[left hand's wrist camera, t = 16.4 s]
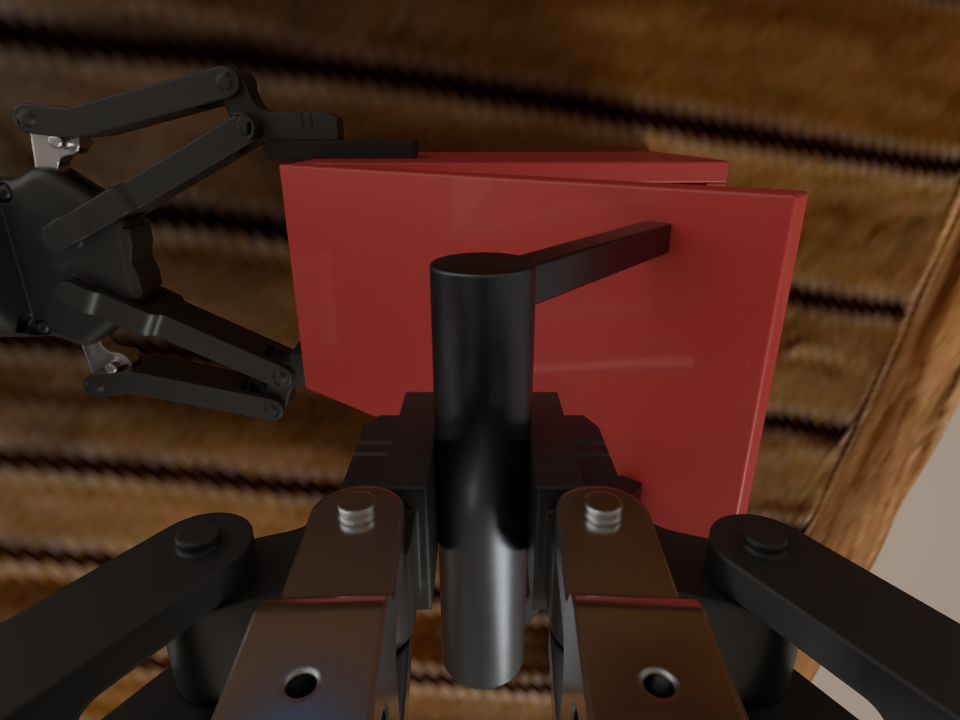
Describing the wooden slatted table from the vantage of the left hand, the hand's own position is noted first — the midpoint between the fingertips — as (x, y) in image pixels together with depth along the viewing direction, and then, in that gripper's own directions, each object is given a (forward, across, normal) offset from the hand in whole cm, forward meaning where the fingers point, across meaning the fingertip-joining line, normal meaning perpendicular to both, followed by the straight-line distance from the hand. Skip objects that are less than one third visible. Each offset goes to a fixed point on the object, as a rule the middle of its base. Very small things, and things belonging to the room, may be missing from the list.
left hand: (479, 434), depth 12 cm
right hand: (+18, +3, 0) cm, 18 cm away
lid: (+8, 0, 0) cm, 8 cm away
